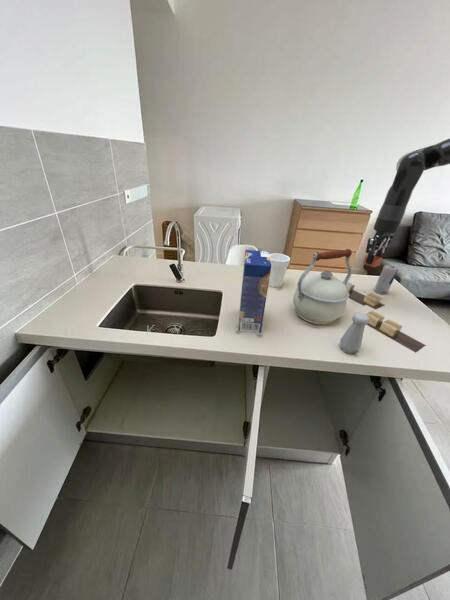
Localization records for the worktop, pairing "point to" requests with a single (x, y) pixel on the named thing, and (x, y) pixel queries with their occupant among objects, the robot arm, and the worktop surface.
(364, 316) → the salt shaker
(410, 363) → the worktop surface
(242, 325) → the juice carton
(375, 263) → the s tile
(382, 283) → the energy drink
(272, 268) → the foam cup
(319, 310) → the kettle
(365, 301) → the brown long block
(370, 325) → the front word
